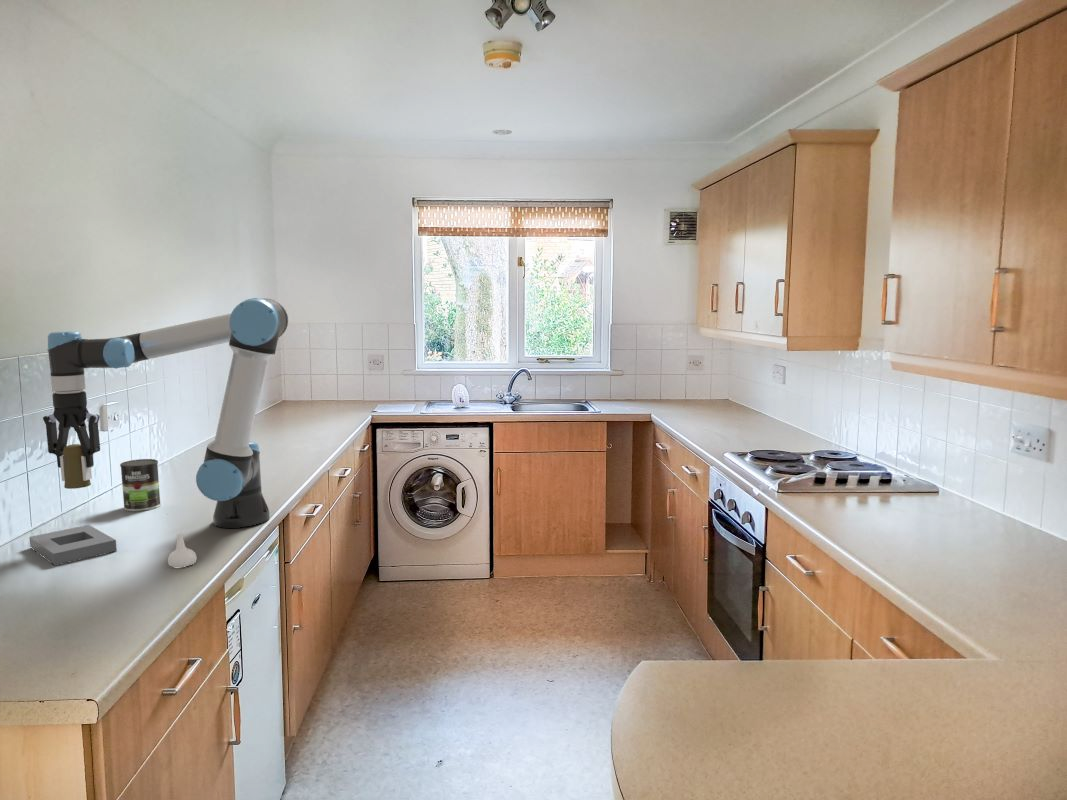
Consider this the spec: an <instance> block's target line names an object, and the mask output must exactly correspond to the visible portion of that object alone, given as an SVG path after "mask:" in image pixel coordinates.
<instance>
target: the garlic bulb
mask: <svg viewBox="0 0 1067 800" xmlns="http://www.w3.org/2000/svg"><path fill="white" fill-rule="evenodd" d="M176 536H177V537H176V546H175V549H174V550H173V551H172V552H171V553H170V554H169V556H168V558H167V564H168V566H169V567H170V566H172V567H184V566H188V565H191V564H193V565H195V564H196V562H197V554H196V552H195V551H194V550H192V549H191V548H187V547H186V544H185V541H184V536H183V533H182V532H181V533H178V534H176ZM194 563H195V564H194ZM172 567H171V568H172Z"/></svg>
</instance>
